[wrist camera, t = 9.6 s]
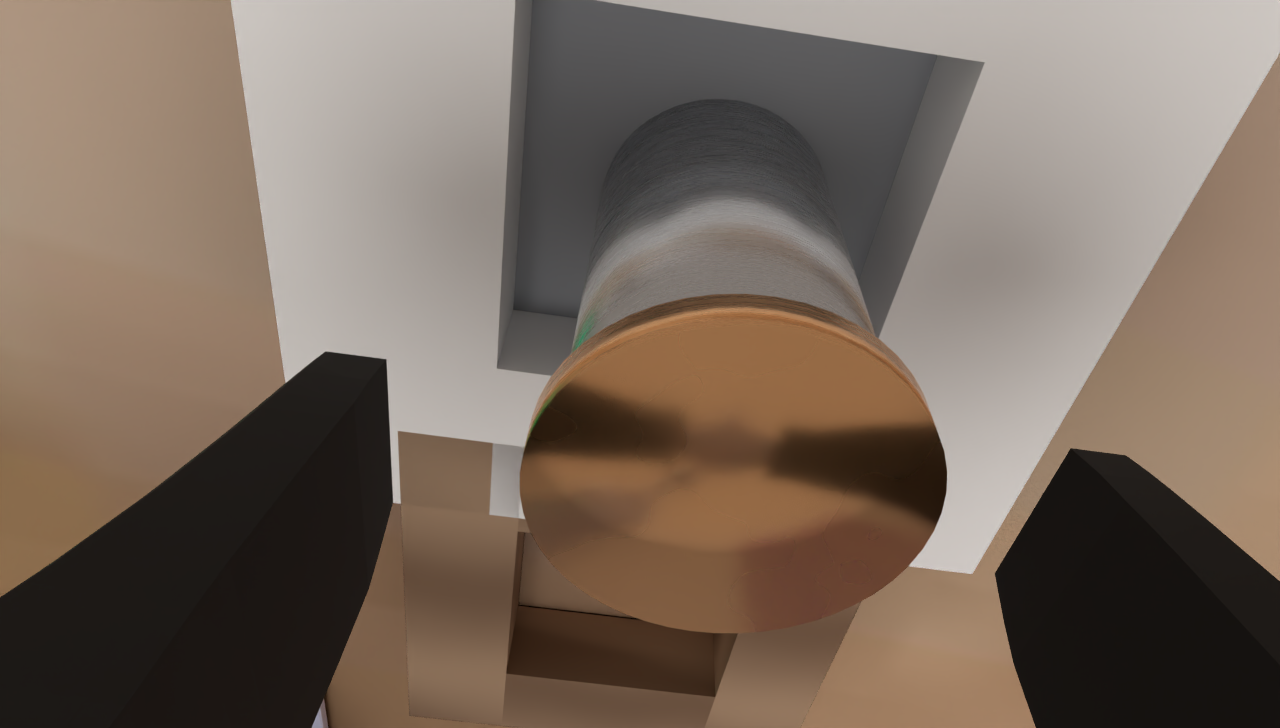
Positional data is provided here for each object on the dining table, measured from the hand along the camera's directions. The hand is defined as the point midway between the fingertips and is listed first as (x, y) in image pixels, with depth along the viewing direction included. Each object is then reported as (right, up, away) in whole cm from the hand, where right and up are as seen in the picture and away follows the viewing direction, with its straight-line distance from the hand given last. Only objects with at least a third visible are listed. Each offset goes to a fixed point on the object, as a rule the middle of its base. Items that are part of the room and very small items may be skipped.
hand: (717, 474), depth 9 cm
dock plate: (0, +4, +6) cm, 7 cm away
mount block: (-1, -3, +12) cm, 12 cm away
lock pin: (0, +4, +6) cm, 7 cm away
